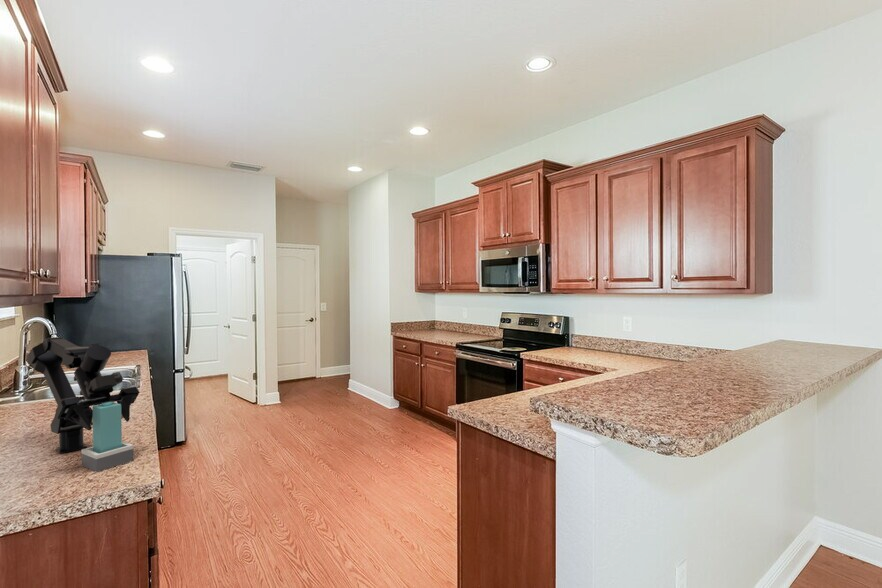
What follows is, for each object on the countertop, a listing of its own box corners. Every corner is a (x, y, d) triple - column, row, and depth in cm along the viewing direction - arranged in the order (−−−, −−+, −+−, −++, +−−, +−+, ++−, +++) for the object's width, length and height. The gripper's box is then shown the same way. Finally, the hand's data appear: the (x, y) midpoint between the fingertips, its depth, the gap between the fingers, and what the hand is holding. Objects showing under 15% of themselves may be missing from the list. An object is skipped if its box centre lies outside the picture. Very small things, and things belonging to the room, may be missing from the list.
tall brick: (93, 452, 121) (92, 403, 121) (113, 446, 126) (113, 399, 126) (101, 455, 119) (100, 405, 119) (121, 449, 123) (121, 401, 123)
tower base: (81, 465, 121) (81, 449, 121) (118, 454, 128) (118, 439, 128) (96, 472, 116) (96, 455, 116) (133, 460, 124) (133, 445, 124)
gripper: (59, 369, 116) (78, 416, 111) (136, 360, 132) (155, 400, 127) (47, 395, 120) (65, 441, 115) (123, 383, 136) (142, 422, 131)
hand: (109, 425), depth 122 cm, fingers open, 9 cm apart
